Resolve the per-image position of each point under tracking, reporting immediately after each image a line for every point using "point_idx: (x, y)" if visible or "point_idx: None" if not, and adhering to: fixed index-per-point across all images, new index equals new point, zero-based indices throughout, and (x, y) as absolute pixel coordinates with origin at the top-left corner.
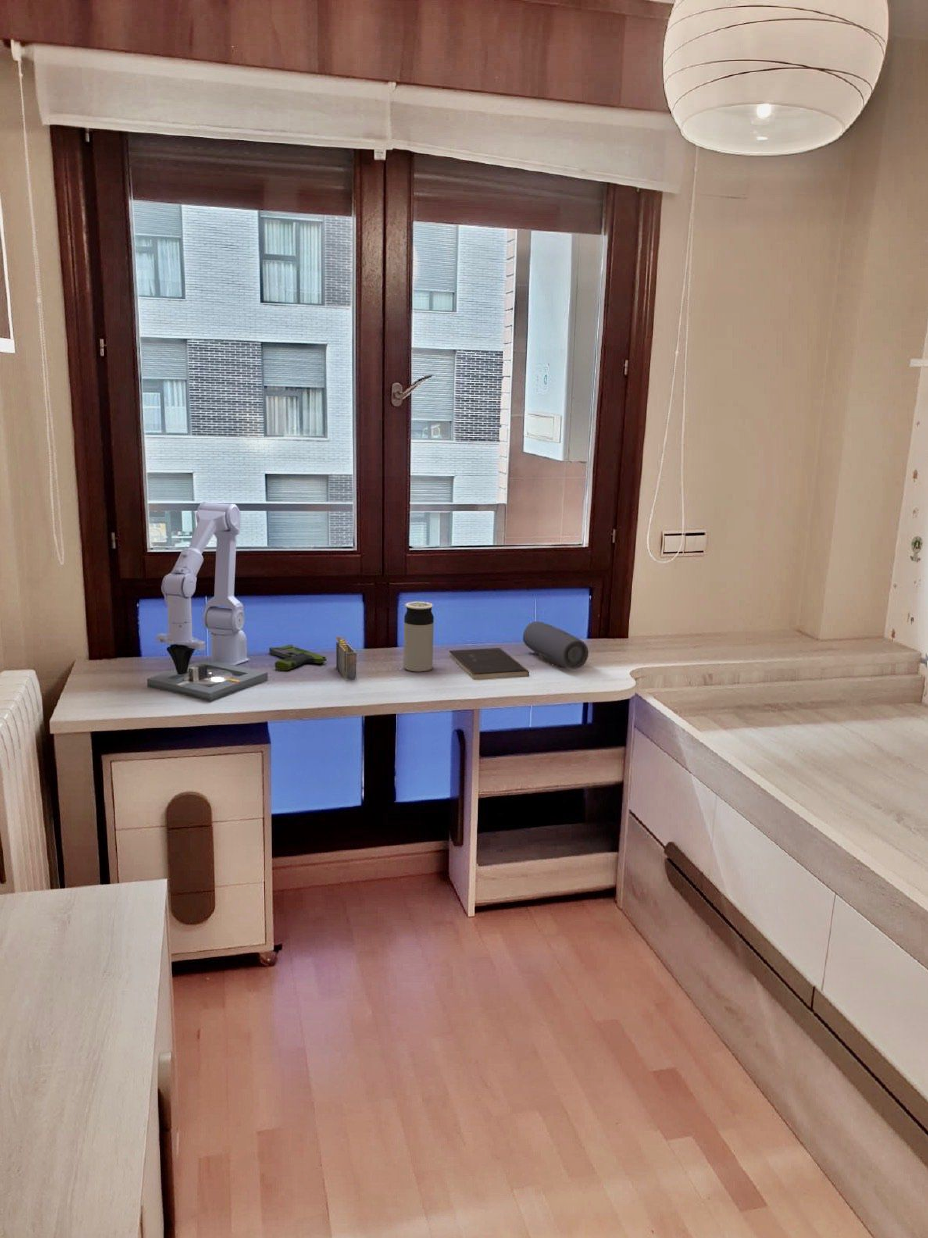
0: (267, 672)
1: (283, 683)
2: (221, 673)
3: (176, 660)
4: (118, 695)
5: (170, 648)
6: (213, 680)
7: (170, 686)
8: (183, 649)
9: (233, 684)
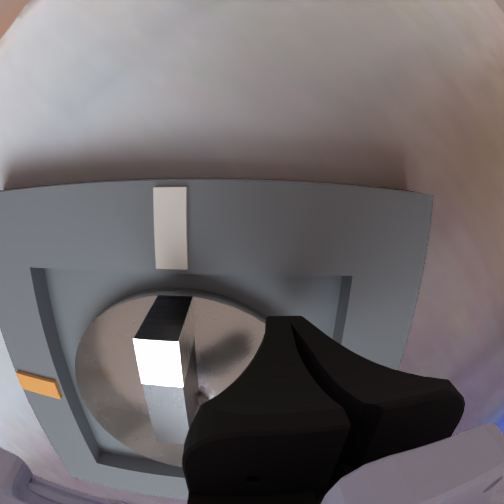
0: (71, 475)
1: (35, 444)
2: (171, 445)
3: (316, 363)
4: (416, 37)
5: (415, 418)
6: (109, 367)
7: (241, 179)
8: (182, 467)
9: (7, 346)
